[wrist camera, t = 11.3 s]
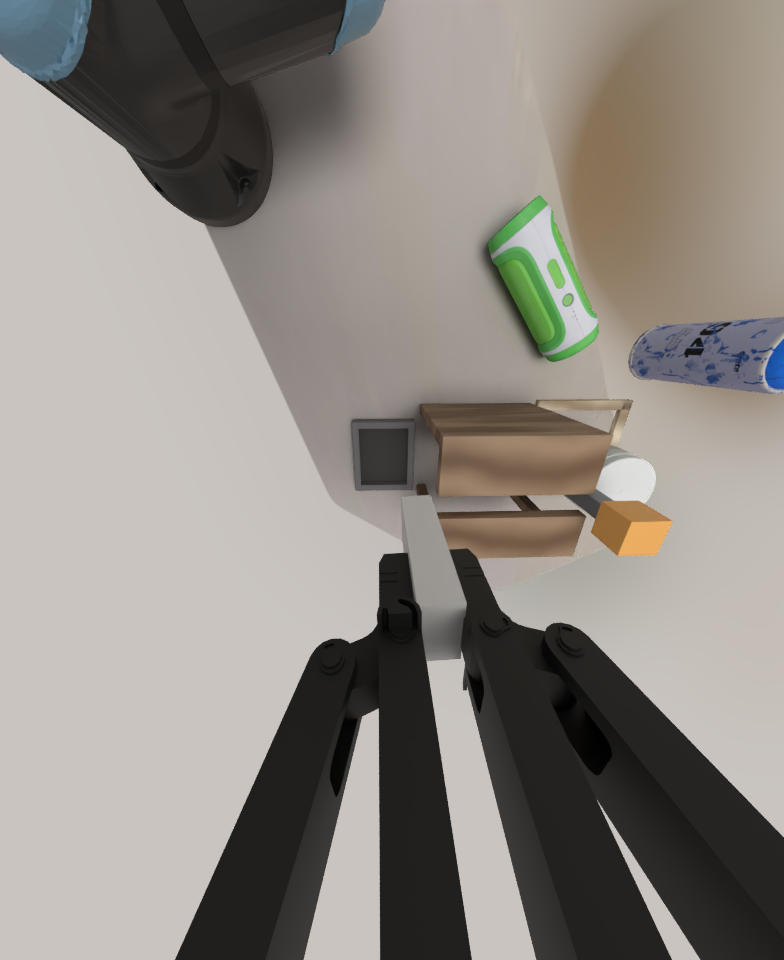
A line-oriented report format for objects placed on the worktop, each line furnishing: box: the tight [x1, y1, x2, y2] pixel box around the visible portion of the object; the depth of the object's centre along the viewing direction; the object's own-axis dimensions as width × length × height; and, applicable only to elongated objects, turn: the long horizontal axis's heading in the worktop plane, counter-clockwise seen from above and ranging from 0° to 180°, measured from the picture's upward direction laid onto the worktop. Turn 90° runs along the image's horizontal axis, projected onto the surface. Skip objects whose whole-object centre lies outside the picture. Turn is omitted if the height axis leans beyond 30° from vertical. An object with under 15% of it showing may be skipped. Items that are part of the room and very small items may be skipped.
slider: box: [566, 489, 673, 556], centre depth 39 cm, size 12×4×24 cm, turn 0°
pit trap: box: [352, 419, 415, 491], centre depth 49 cm, size 12×10×2 cm
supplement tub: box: [564, 445, 656, 512], centre depth 44 cm, size 10×10×15 cm
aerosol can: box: [628, 317, 784, 394], centre depth 35 cm, size 8×8×20 cm
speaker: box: [488, 195, 598, 362], centre depth 37 cm, size 18×7×8 cm, turn 39°
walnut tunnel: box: [417, 403, 614, 558], centre depth 42 cm, size 16×18×18 cm
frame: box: [536, 400, 633, 447], centre depth 50 cm, size 17×16×1 cm
